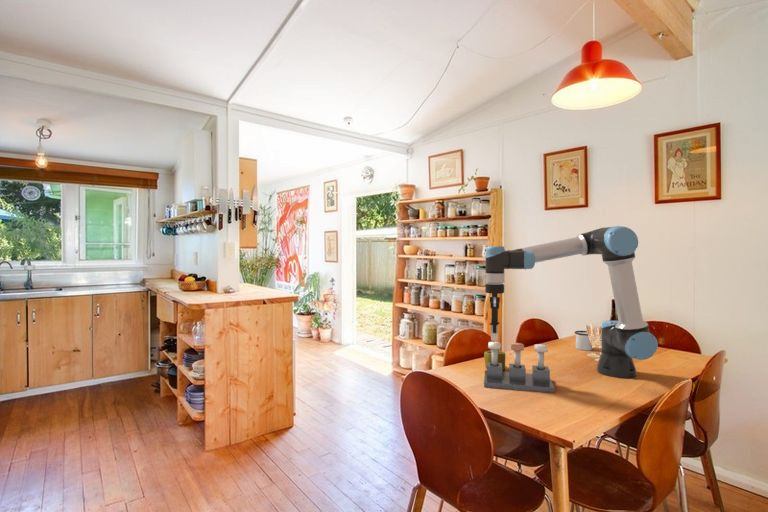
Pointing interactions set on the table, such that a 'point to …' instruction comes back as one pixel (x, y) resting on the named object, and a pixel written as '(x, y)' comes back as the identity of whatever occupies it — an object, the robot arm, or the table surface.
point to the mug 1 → (500, 358)
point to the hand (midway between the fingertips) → (494, 340)
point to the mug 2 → (583, 341)
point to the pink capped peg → (517, 353)
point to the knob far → (494, 352)
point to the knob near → (540, 354)
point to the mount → (518, 378)
